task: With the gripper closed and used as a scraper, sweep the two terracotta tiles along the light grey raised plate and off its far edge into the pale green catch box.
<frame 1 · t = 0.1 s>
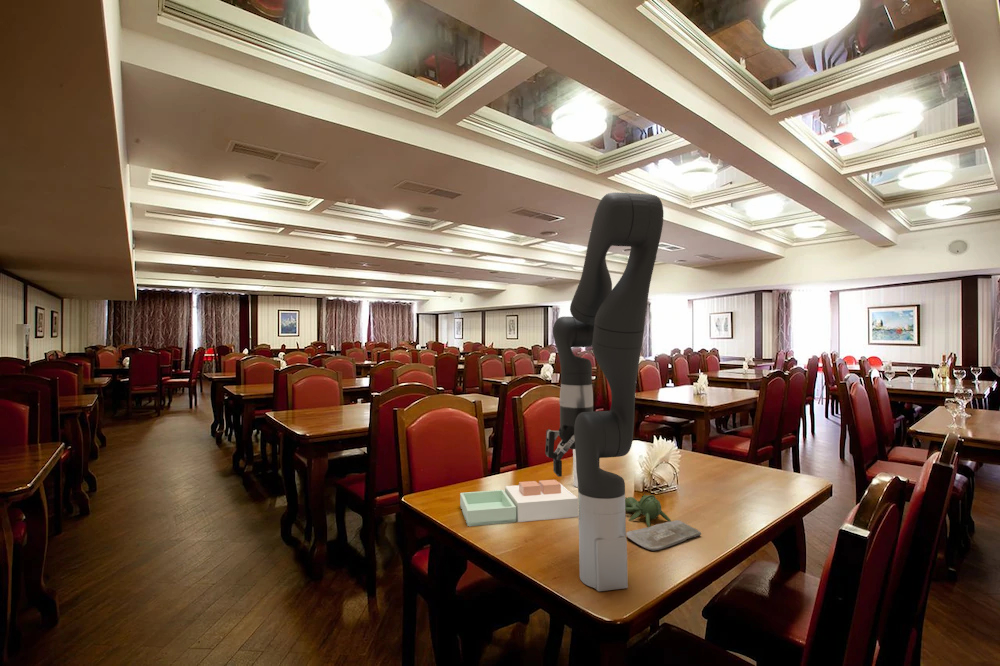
hand: (576, 474, 107), 17 cm above the table, fingers open, 8 cm apart
stone: (664, 540, 113), on the table
figurine: (636, 516, 129), on the table
catch box: (486, 514, 131), on the table
raised plate: (540, 509, 134), on the table
tile 2: (549, 491, 135), point 5 cm above the table, touching raised plate
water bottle: (581, 485, 158), on the table
tile 1: (529, 492, 134), point 5 cm above the table, touching raised plate
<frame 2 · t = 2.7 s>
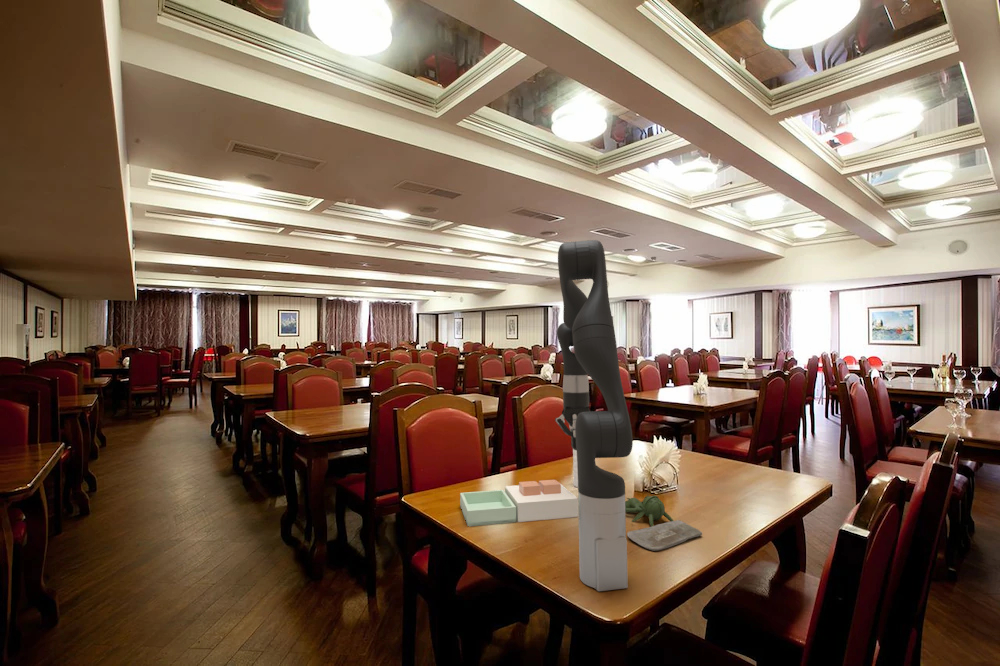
hand: (576, 449, 137), 16 cm above the table, fingers closed
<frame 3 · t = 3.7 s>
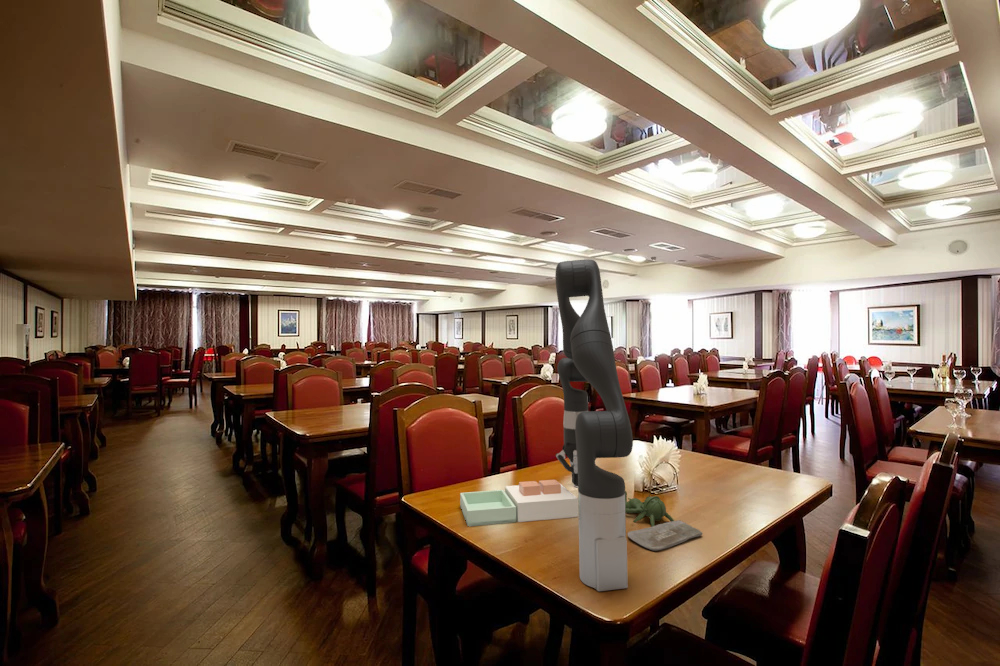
hand: (577, 485, 137), 6 cm above the table, fingers closed
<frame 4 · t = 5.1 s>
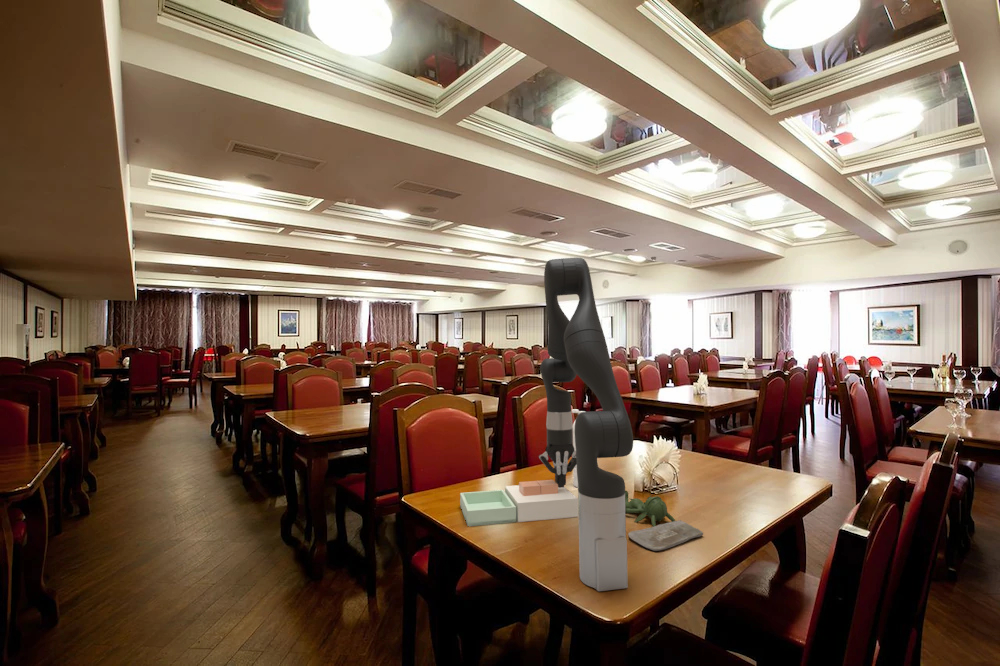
hand: (560, 486, 136), 6 cm above the table, fingers closed
tile 2: (547, 491, 135), point 5 cm above the table, touching gripper
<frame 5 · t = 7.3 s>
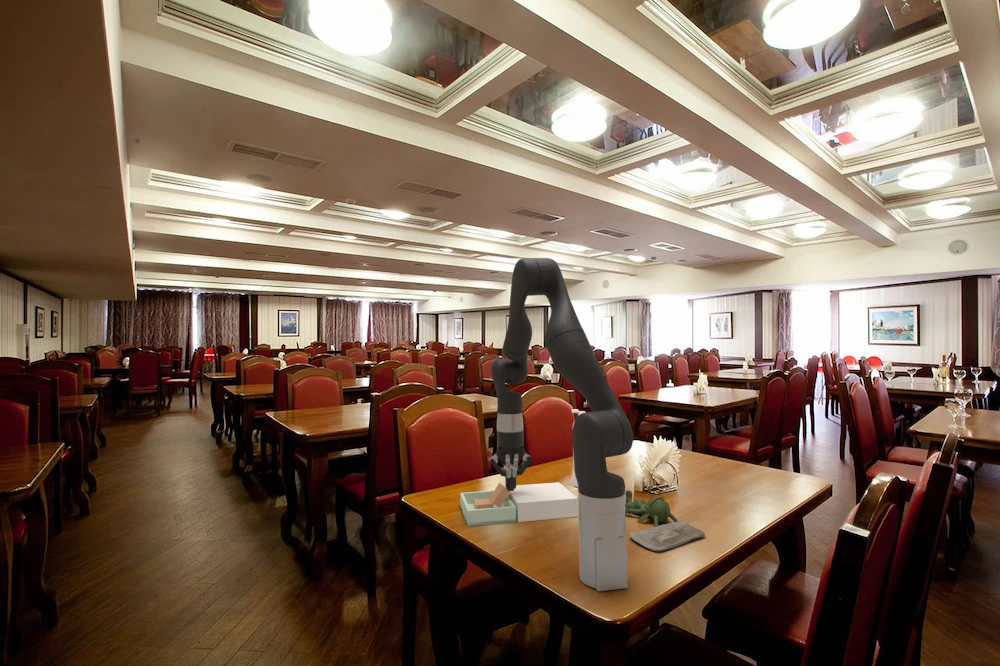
hand: (511, 490, 133), 6 cm above the table, fingers closed
stone: (667, 541, 113), on the table, touching figurine
figurine: (644, 518, 128), on the table, touching stone
tile 2: (503, 497, 133), point 4 cm above the table, tilted 53°, touching tile 1, gripper
tile 1: (483, 501, 132), point 3 cm above the table, tilted 180°, touching tile 2
everything else where it was.
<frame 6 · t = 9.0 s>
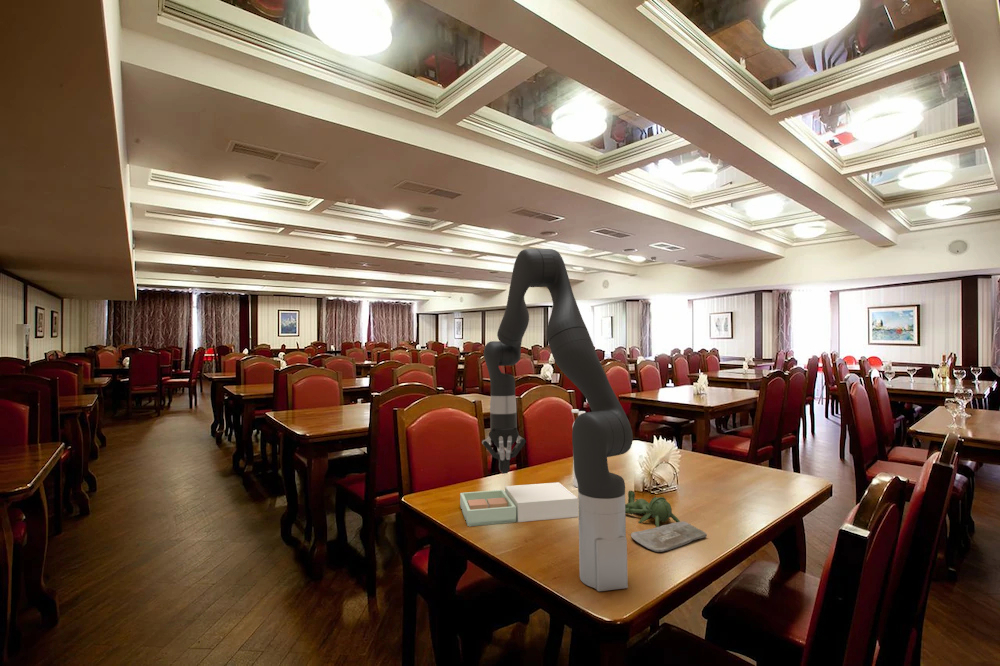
hand: (504, 472, 132), 11 cm above the table, fingers closed
stone: (669, 541, 113), on the table
figurine: (646, 518, 128), on the table
tile 2: (497, 509, 132), point 1 cm above the table, touching catch box
tile 1: (477, 502, 131), point 3 cm above the table, tilted 180°, touching catch box
everything else where it was.
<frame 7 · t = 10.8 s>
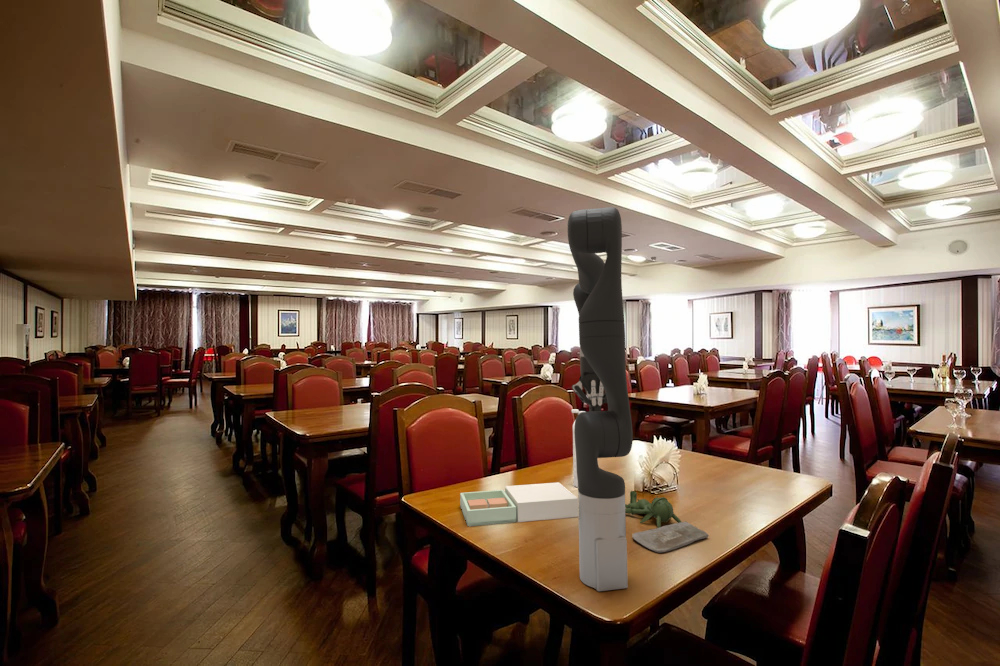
hand: (595, 419, 126), 27 cm above the table, fingers closed
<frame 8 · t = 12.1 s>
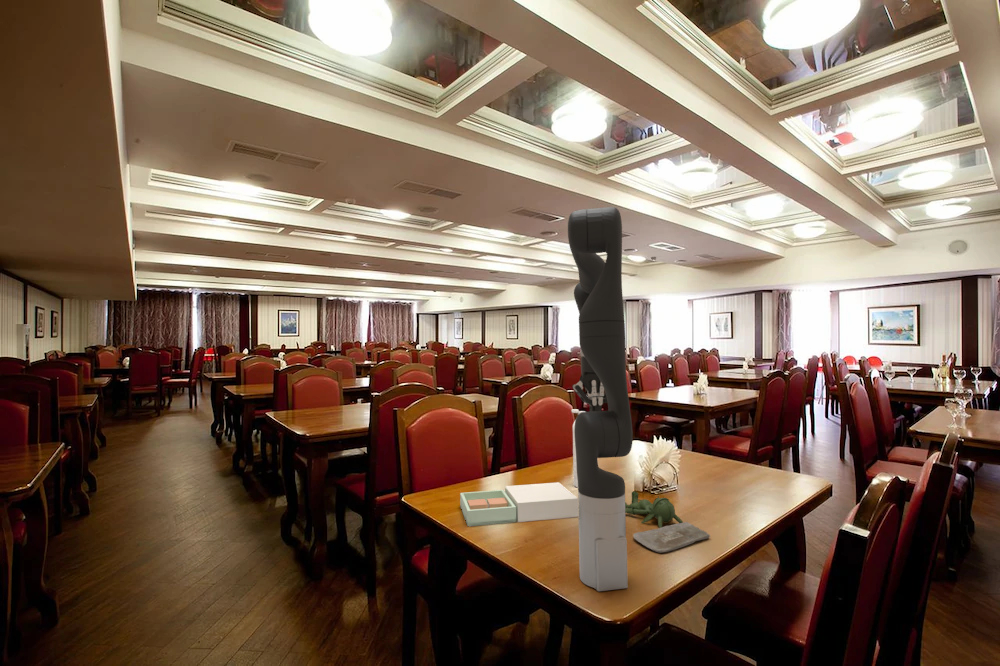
hand: (596, 419, 126), 27 cm above the table, fingers closed
at the end: tile 2 inside the target area on the catch box (3.0 cm from its centre), point 0.8 cm above the catch box's base; tile 1 inside the target area on the catch box (2.6 cm from its centre), point 3.3 cm above the catch box's base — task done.
